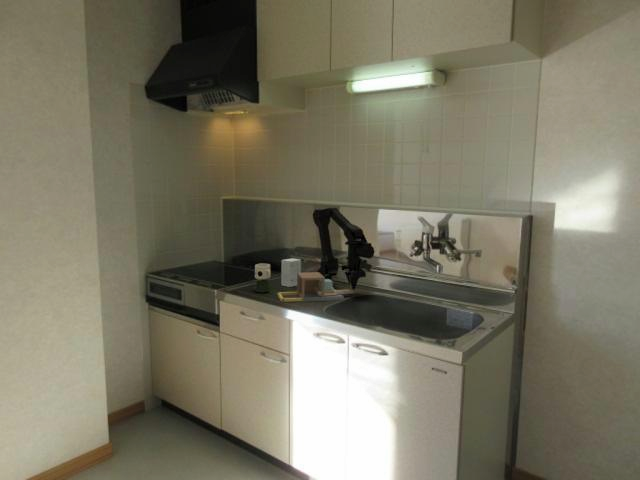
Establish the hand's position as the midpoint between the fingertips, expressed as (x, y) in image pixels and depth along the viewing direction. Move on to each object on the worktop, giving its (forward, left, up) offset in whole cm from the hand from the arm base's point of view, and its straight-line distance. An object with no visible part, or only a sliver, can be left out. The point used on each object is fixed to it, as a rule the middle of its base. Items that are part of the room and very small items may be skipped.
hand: (352, 288), depth 214 cm
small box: (-27, -24, -4) cm, 36 cm away
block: (0, -13, -1) cm, 13 cm away
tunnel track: (0, -20, -4) cm, 20 cm away
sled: (0, -8, -2) cm, 8 cm away
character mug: (-14, -40, -4) cm, 43 cm away
